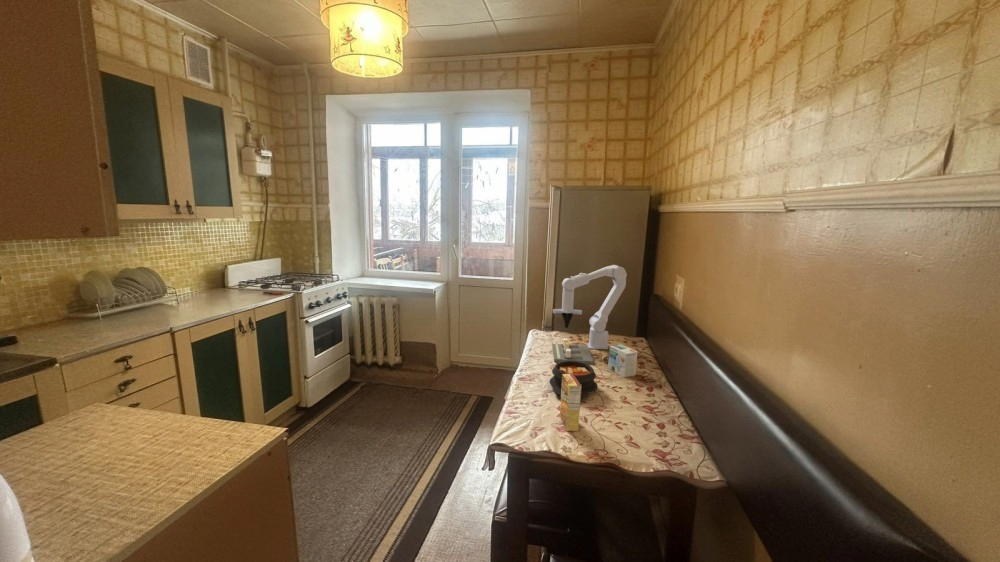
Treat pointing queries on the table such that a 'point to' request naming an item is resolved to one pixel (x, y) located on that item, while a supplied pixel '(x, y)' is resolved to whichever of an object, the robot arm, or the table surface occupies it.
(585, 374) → the casserole
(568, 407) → the candy box
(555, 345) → the breaker panel
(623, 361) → the light bulb box
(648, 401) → the table surface
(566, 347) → the handle
